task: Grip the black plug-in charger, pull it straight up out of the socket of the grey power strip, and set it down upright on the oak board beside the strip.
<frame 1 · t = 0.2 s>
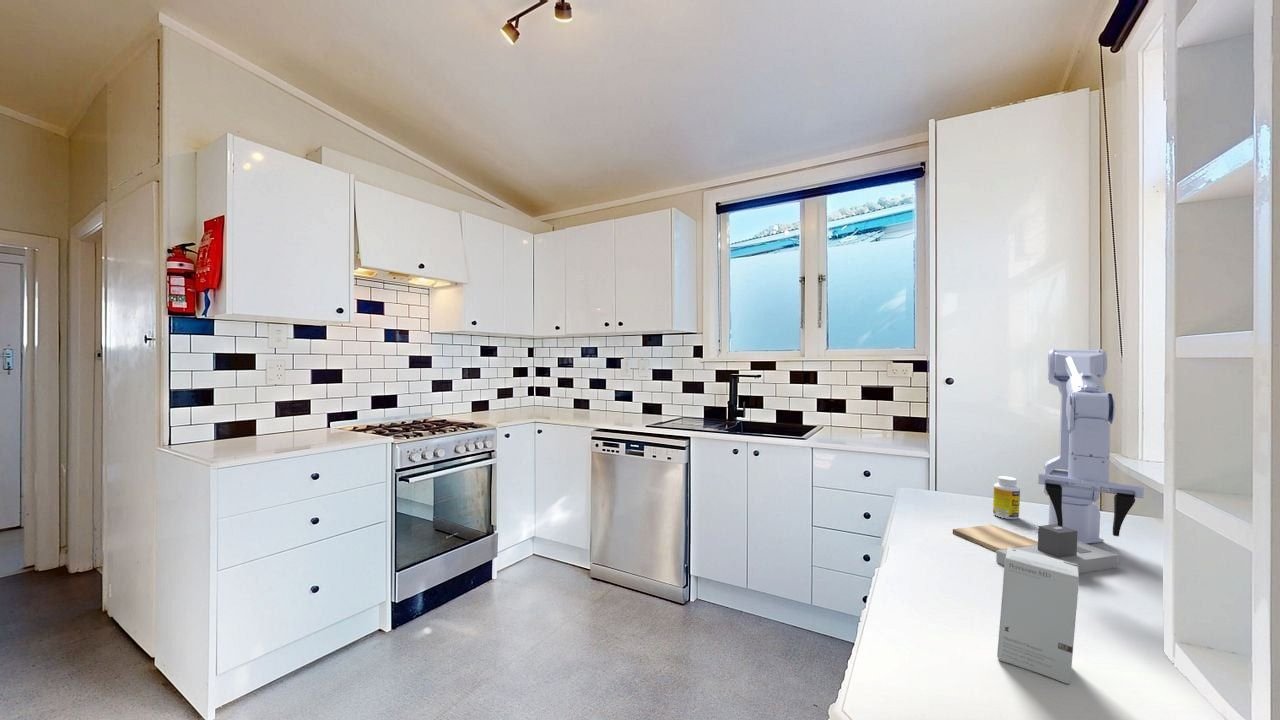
hand: (1087, 530, 93), 11 cm above the countertop, tool pointing down, fingers open, 7 cm apart
charger: (1056, 564, 103), resting in power strip
power strip: (1056, 564, 103), on the countertop
supplement bottle: (1005, 517, 132), on the countertop
oak board: (996, 540, 116), on the countertop
skincare box: (1035, 664, 71), on the countertop
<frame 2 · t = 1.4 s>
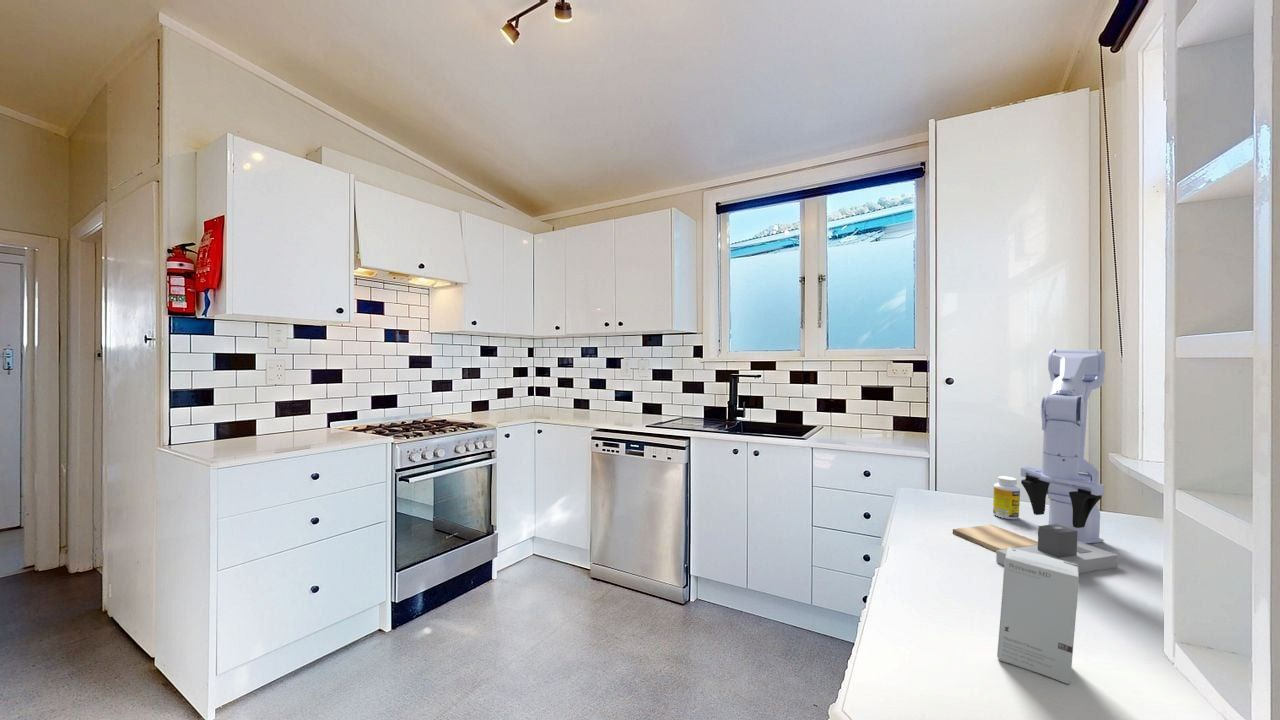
hand: (1058, 520, 103), 9 cm above the countertop, tool pointing down, fingers open, 7 cm apart
nothing on the countertop moved.
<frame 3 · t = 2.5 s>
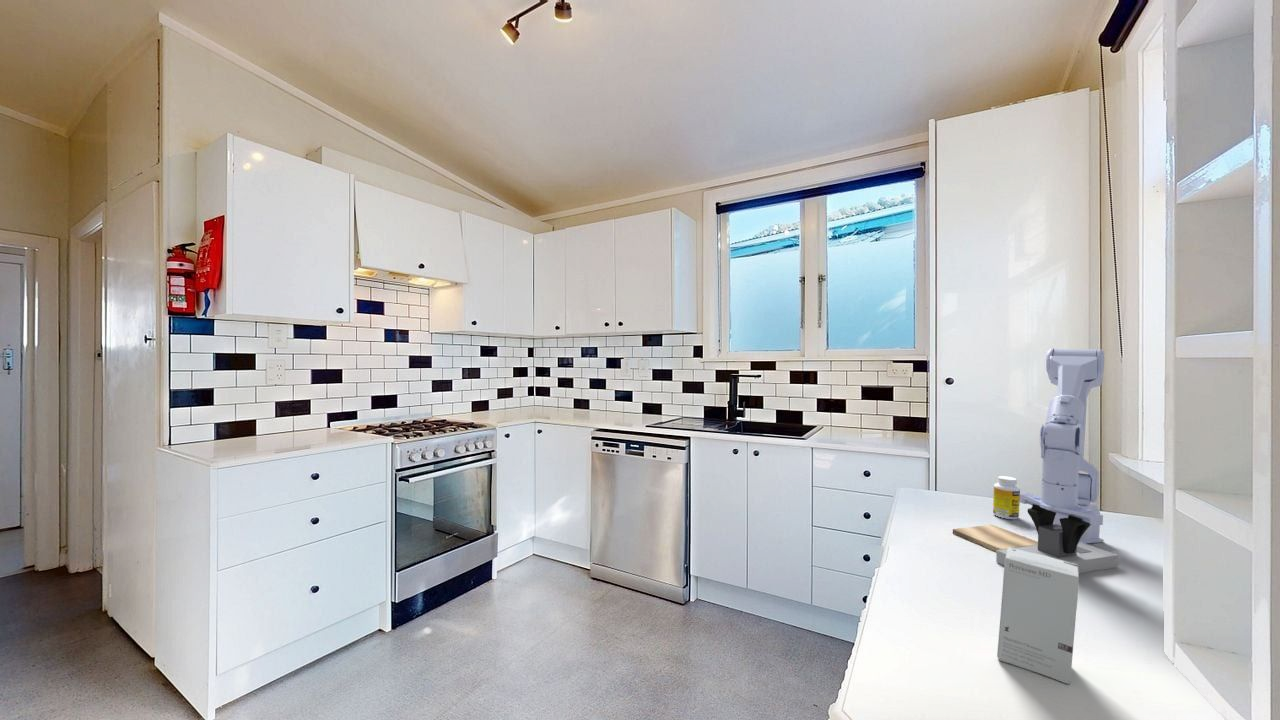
hand: (1057, 548, 103), 3 cm above the countertop, tool pointing down, fingers closed on charger, 4 cm apart
charger: (1056, 564, 103), resting in power strip, touching gripper
everything else where it was.
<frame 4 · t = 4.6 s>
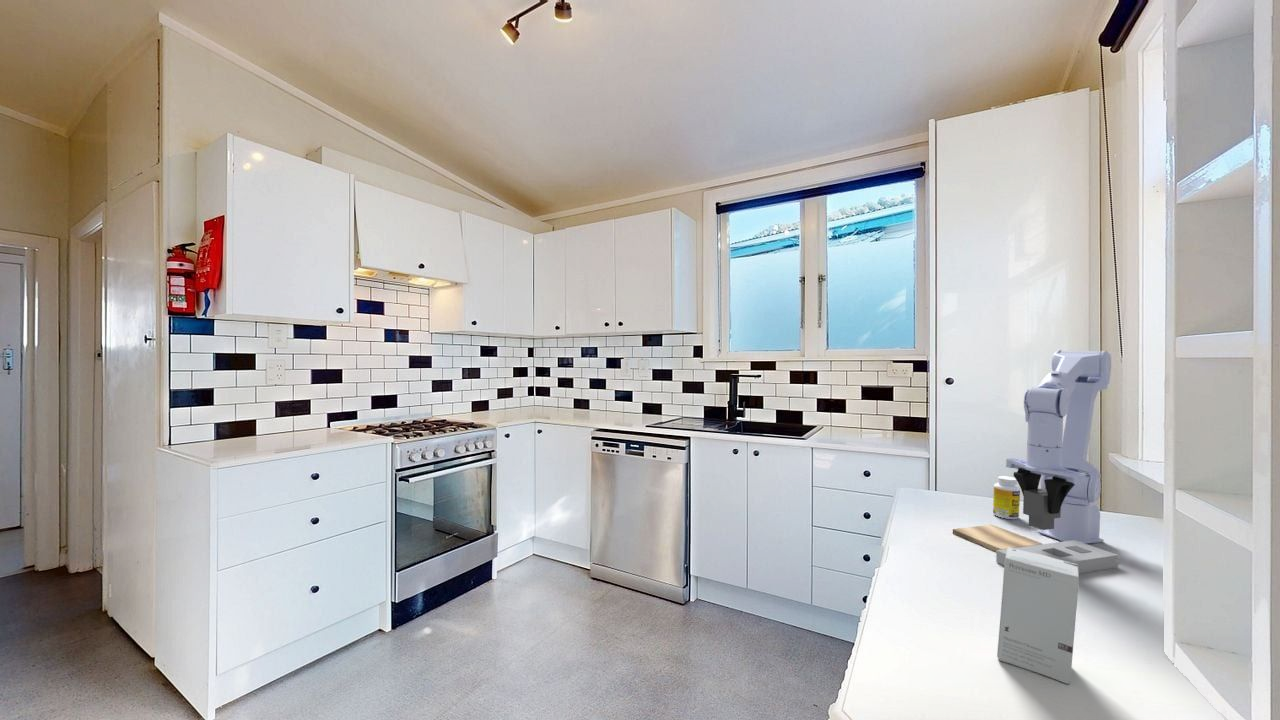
hand: (1041, 509, 106), 10 cm above the countertop, tool pointing down, fingers closed on charger, 4 cm apart
charger: (1041, 527, 106), point 7 cm above the countertop, touching gripper
everything else where it was.
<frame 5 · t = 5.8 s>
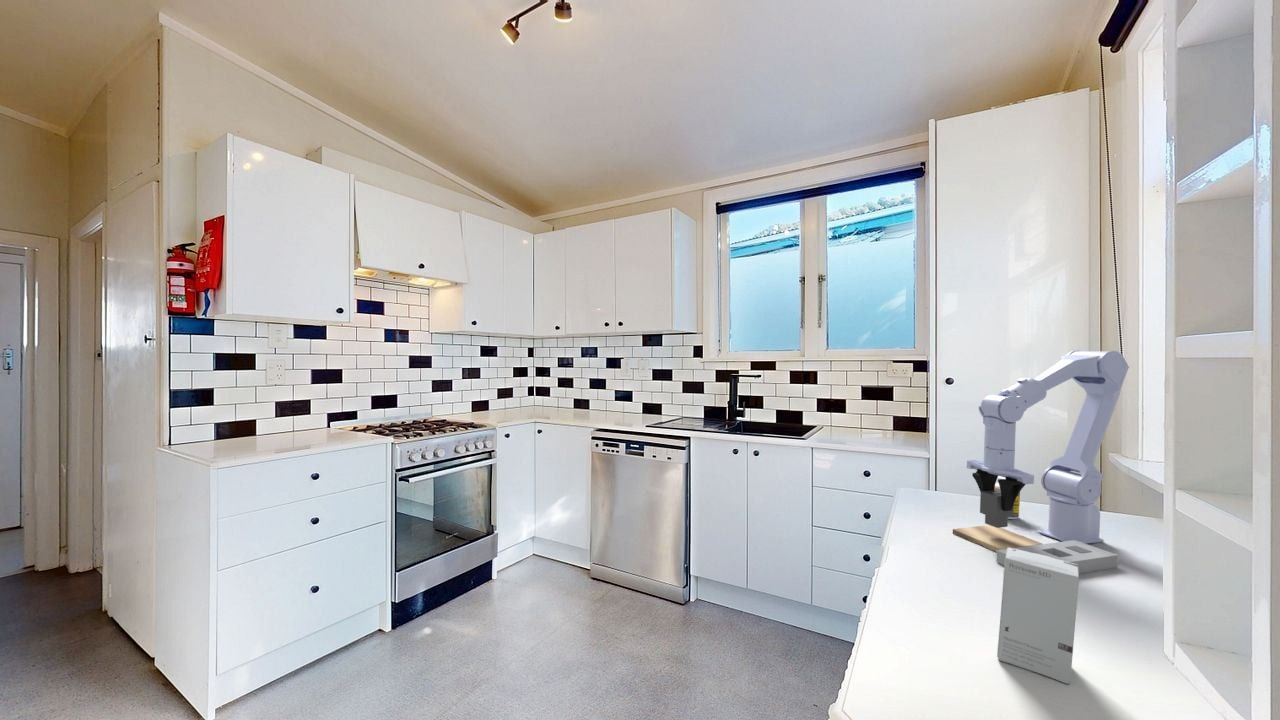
hand: (997, 507, 115), 8 cm above the countertop, tool pointing down, fingers closed on charger, 4 cm apart
charger: (996, 525, 115), point 4 cm above the countertop, touching gripper
everything else where it was.
when the fingers open (6 cm above the countertop, at t = 6.6 s): charger stays where it is, resting on oak board.
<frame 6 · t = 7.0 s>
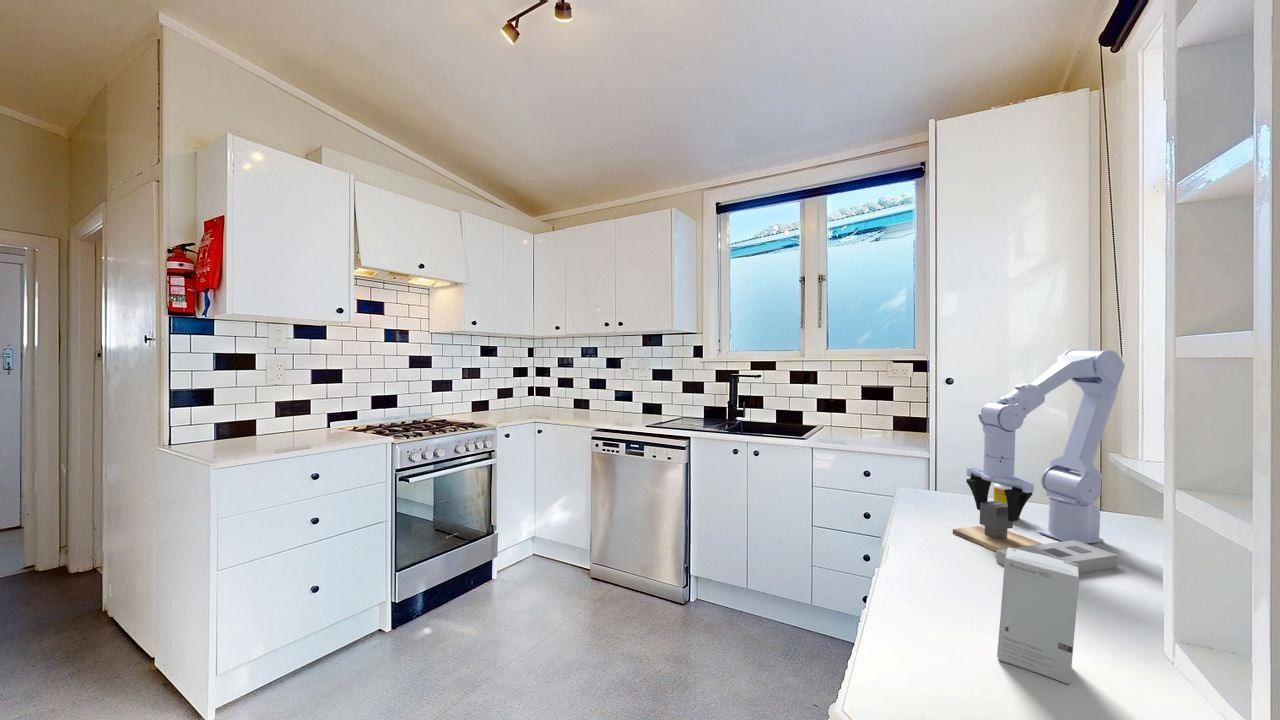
hand: (996, 515, 115), 6 cm above the countertop, tool pointing down, fingers open, 7 cm apart
charger: (995, 536, 116), point 1 cm above the countertop, touching oak board
everything else where it was.
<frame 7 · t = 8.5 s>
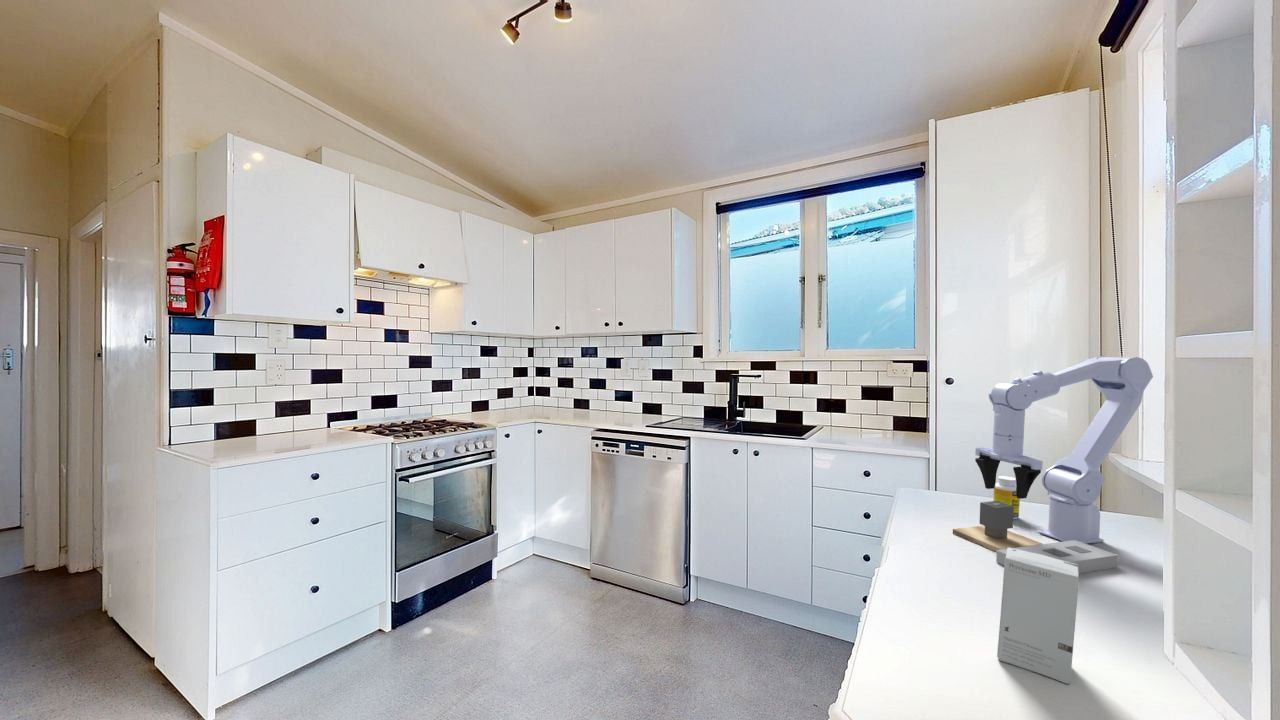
hand: (1005, 493, 117), 10 cm above the countertop, tool pointing down, fingers open, 7 cm apart
nothing on the countertop moved.
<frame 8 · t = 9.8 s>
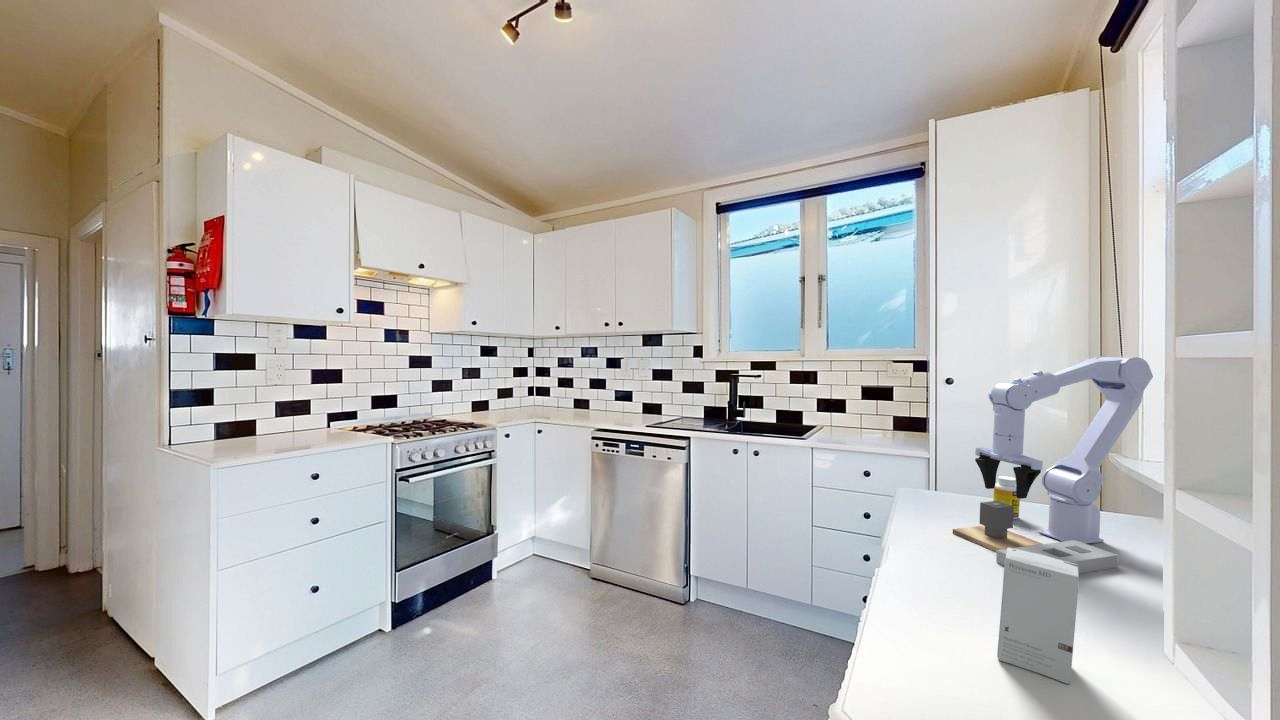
hand: (1005, 493, 117), 10 cm above the countertop, tool pointing down, fingers open, 7 cm apart
nothing on the countertop moved.
at the end: charger inside the target area on the oak board (0.2 cm from its centre), point 0.9 cm above the oak board's base; charger tilted 0°; the gripper is holding nothing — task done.
